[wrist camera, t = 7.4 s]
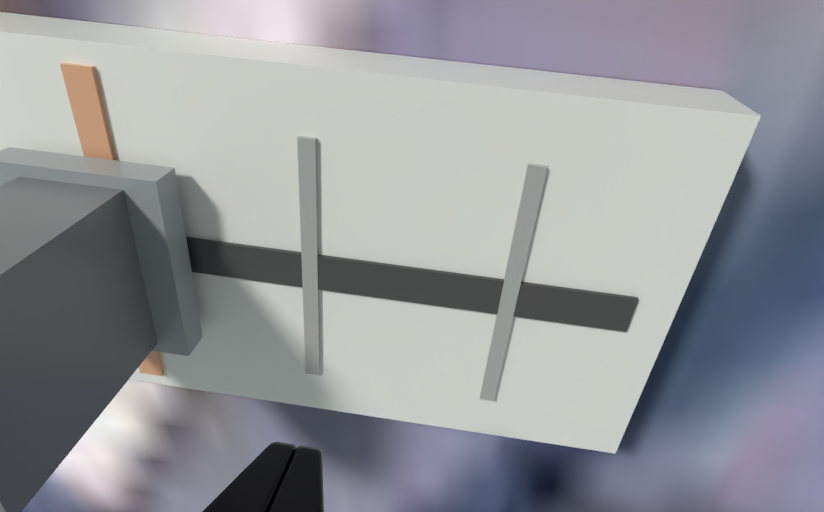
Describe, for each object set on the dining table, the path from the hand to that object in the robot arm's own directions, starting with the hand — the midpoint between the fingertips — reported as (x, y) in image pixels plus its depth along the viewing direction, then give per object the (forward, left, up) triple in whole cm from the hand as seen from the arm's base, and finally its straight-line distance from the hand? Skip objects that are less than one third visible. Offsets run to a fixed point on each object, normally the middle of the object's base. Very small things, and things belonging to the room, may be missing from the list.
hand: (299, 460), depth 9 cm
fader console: (+2, 0, -7) cm, 8 cm away
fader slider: (+6, 0, -5) cm, 8 cm away
